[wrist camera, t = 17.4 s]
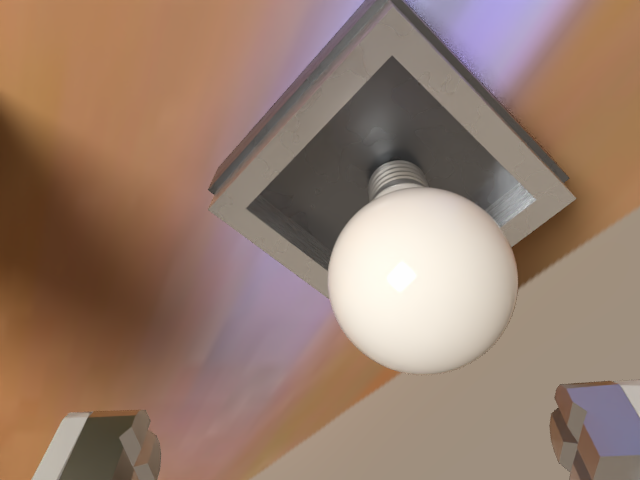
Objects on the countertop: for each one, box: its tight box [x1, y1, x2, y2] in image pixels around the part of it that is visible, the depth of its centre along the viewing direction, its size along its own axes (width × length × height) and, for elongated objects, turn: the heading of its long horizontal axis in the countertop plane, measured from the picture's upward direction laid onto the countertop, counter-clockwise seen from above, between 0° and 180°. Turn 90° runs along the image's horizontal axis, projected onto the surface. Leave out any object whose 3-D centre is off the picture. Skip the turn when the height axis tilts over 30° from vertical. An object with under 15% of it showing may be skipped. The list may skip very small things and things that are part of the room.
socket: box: [208, 0, 576, 299], centre depth 25 cm, size 12×12×4 cm
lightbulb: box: [328, 160, 518, 375], centre depth 20 cm, size 6×6×11 cm
